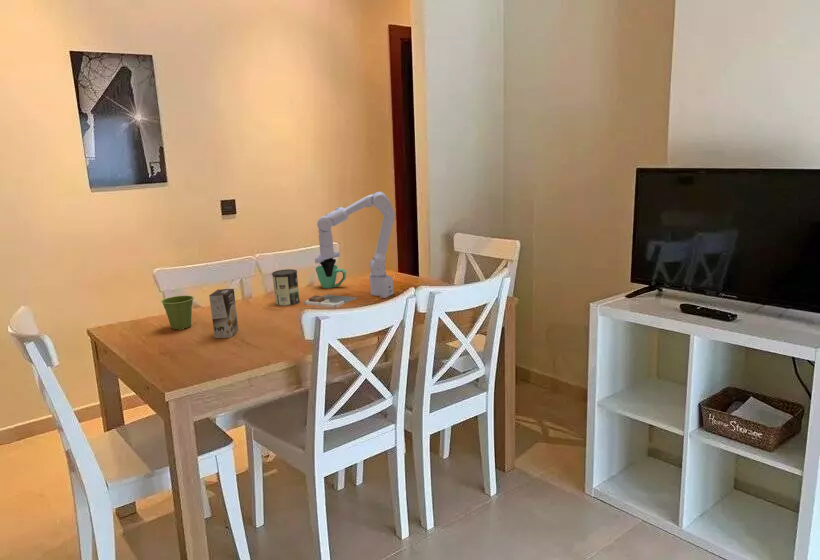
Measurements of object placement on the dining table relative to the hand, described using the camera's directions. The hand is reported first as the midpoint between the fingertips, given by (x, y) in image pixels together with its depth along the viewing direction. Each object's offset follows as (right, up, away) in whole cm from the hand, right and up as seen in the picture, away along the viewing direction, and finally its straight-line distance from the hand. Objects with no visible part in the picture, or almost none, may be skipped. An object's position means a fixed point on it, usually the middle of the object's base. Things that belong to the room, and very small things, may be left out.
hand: (329, 276), depth 272 cm
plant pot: (-53, -20, -26) cm, 63 cm away
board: (+2, -11, -4) cm, 12 cm away
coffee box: (-32, -22, -38) cm, 55 cm away
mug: (-1, -6, +20) cm, 21 cm away
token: (-4, -11, -6) cm, 13 cm away
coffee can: (-17, -12, -2) cm, 21 cm away
